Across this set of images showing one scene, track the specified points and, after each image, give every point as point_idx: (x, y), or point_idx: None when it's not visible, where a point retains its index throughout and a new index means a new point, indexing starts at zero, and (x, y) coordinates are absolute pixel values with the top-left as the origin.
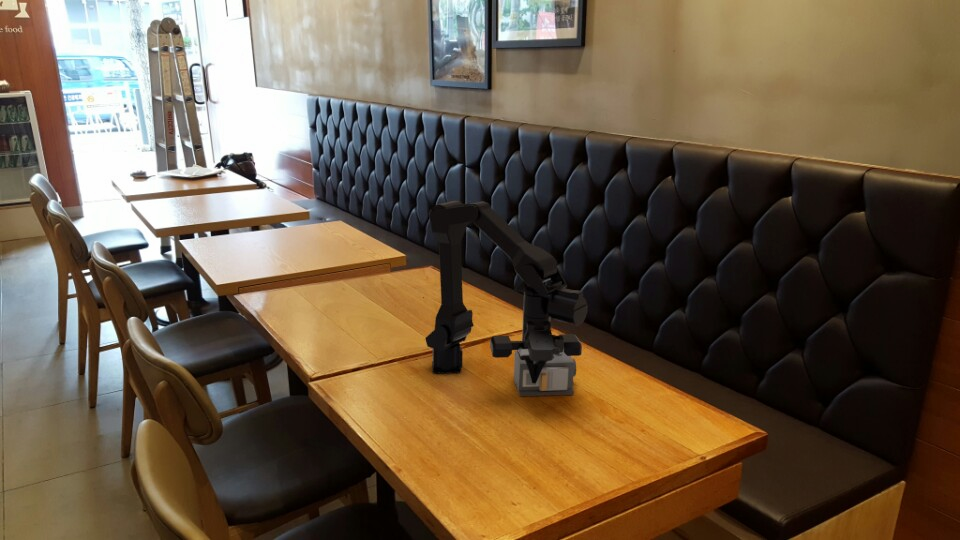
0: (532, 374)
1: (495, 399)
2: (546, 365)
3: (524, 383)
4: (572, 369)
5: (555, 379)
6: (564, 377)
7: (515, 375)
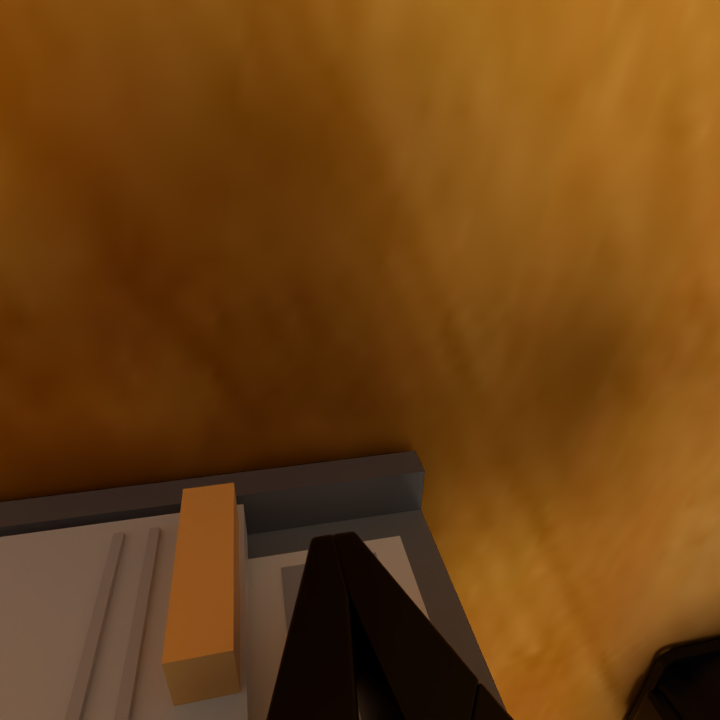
0: (399, 631)
1: (598, 401)
2: None
3: (393, 563)
4: None
5: (48, 638)
6: None
7: None
